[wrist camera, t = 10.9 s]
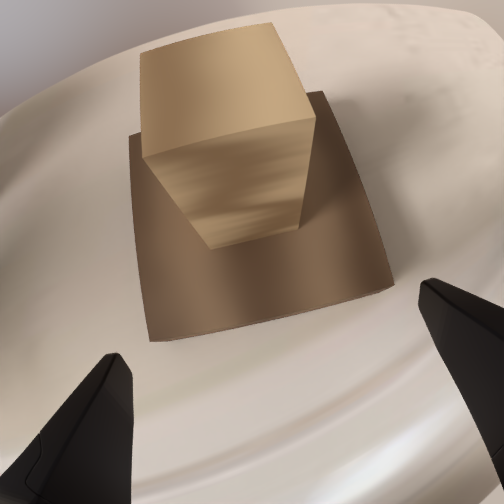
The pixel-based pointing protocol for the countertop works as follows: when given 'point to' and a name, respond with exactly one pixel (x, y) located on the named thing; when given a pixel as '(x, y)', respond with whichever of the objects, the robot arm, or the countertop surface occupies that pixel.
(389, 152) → the countertop surface
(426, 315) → the robot arm
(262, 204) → the oak block
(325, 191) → the walnut base
